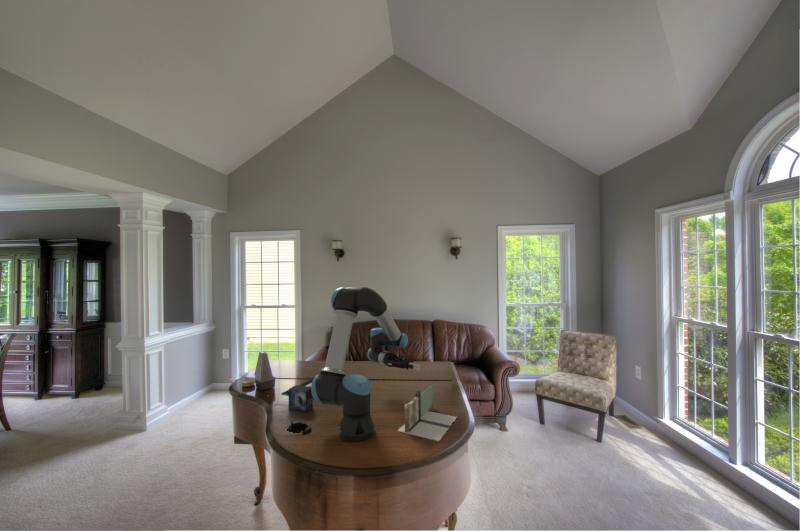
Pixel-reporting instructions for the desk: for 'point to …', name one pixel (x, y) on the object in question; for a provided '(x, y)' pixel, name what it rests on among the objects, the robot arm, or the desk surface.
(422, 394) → the hinged panel
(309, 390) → the small box
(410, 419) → the fixed fence
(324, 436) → the desk surface
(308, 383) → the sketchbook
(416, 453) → the desk surface
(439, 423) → the card
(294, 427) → the black jagged lump
